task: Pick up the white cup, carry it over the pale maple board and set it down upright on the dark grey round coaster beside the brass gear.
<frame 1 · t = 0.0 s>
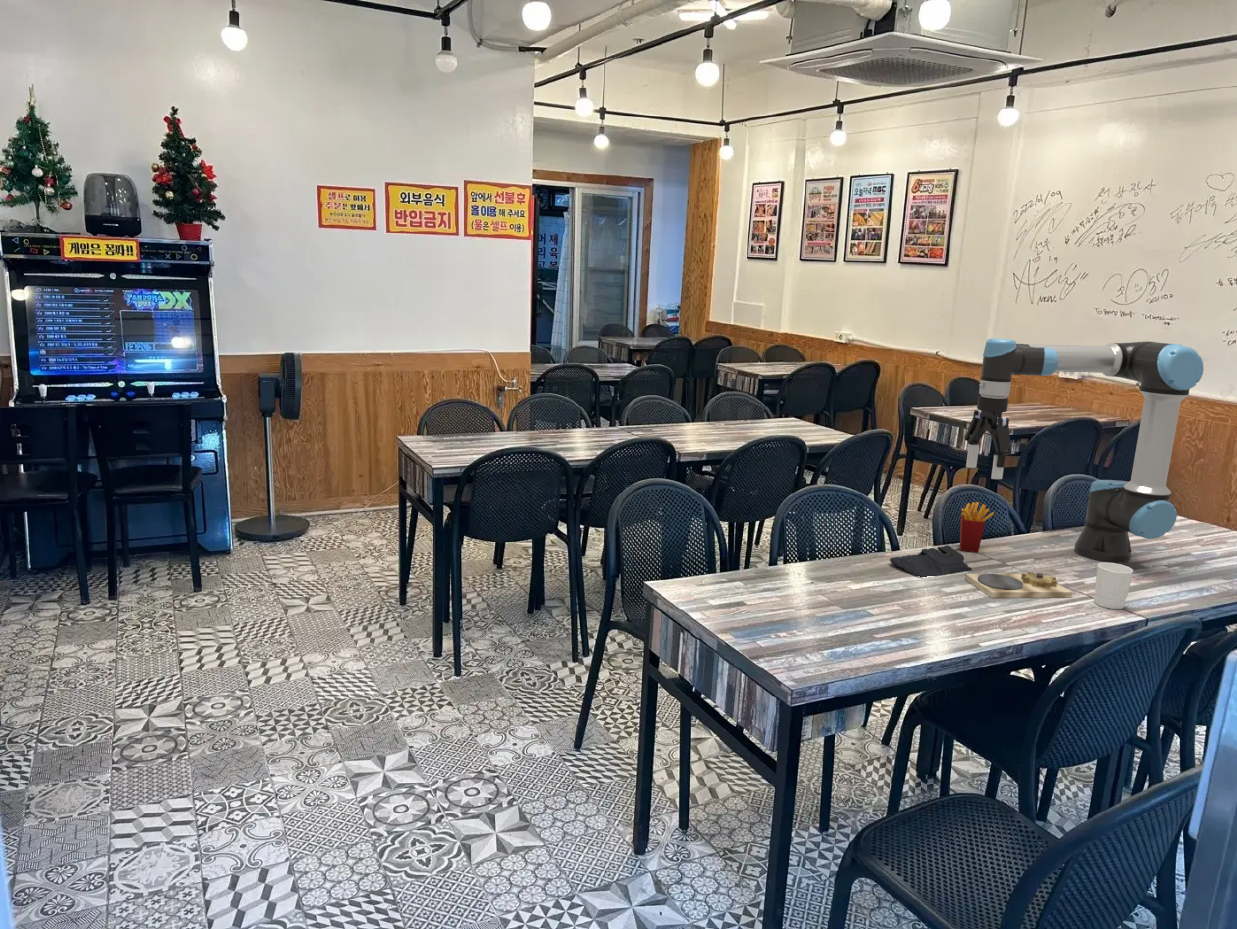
hand: (983, 473, 240), 28 cm above the table, tool pointing down, fingers open, 13 cm apart
dark slate chunk: (928, 568, 248), on the table
french fries: (972, 550, 265), on the table
gear board: (1016, 588, 232), on the table
white cup: (1108, 605, 223), on the table
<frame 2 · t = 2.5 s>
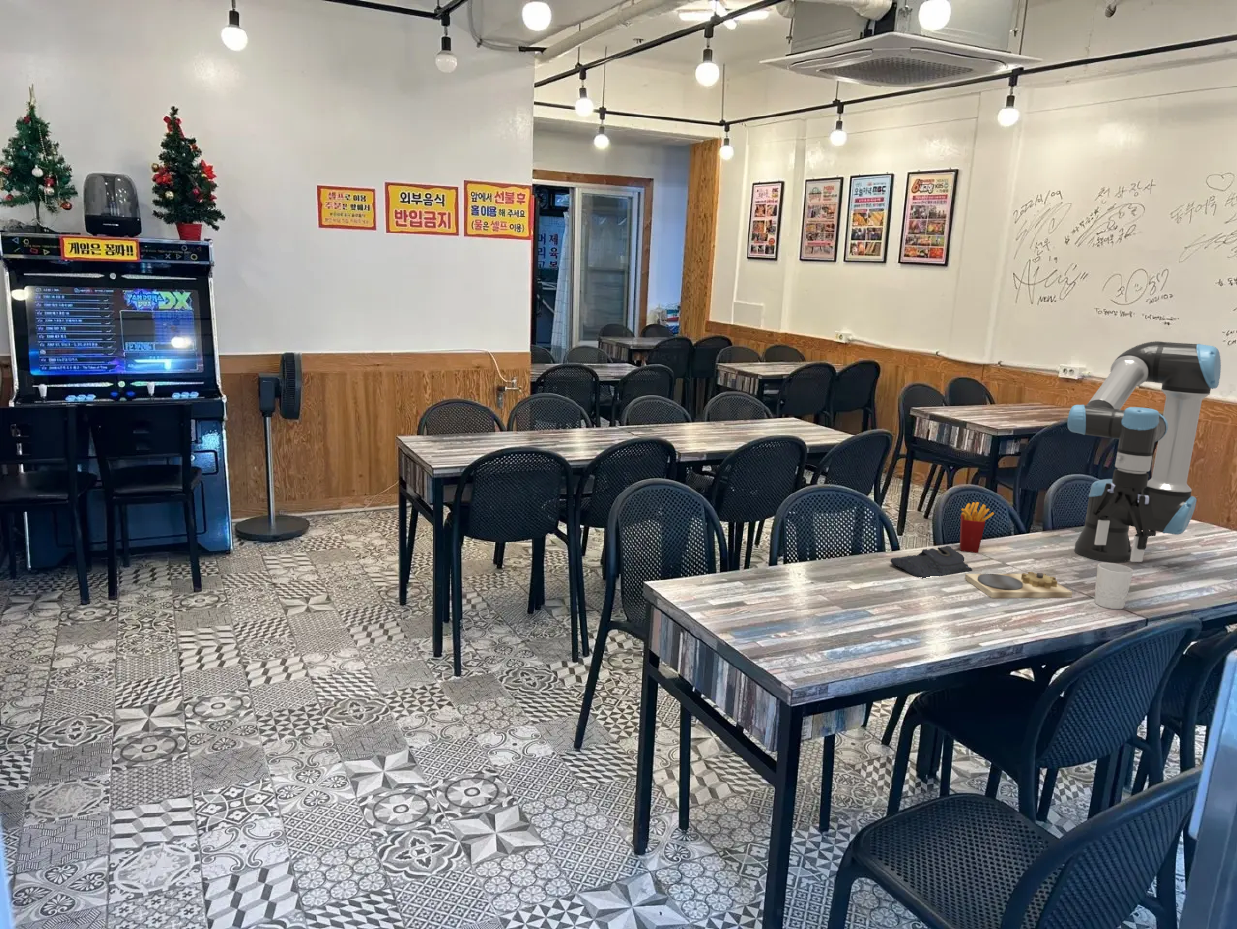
hand: (1117, 552, 219), 14 cm above the table, tool pointing down, fingers open, 13 cm apart
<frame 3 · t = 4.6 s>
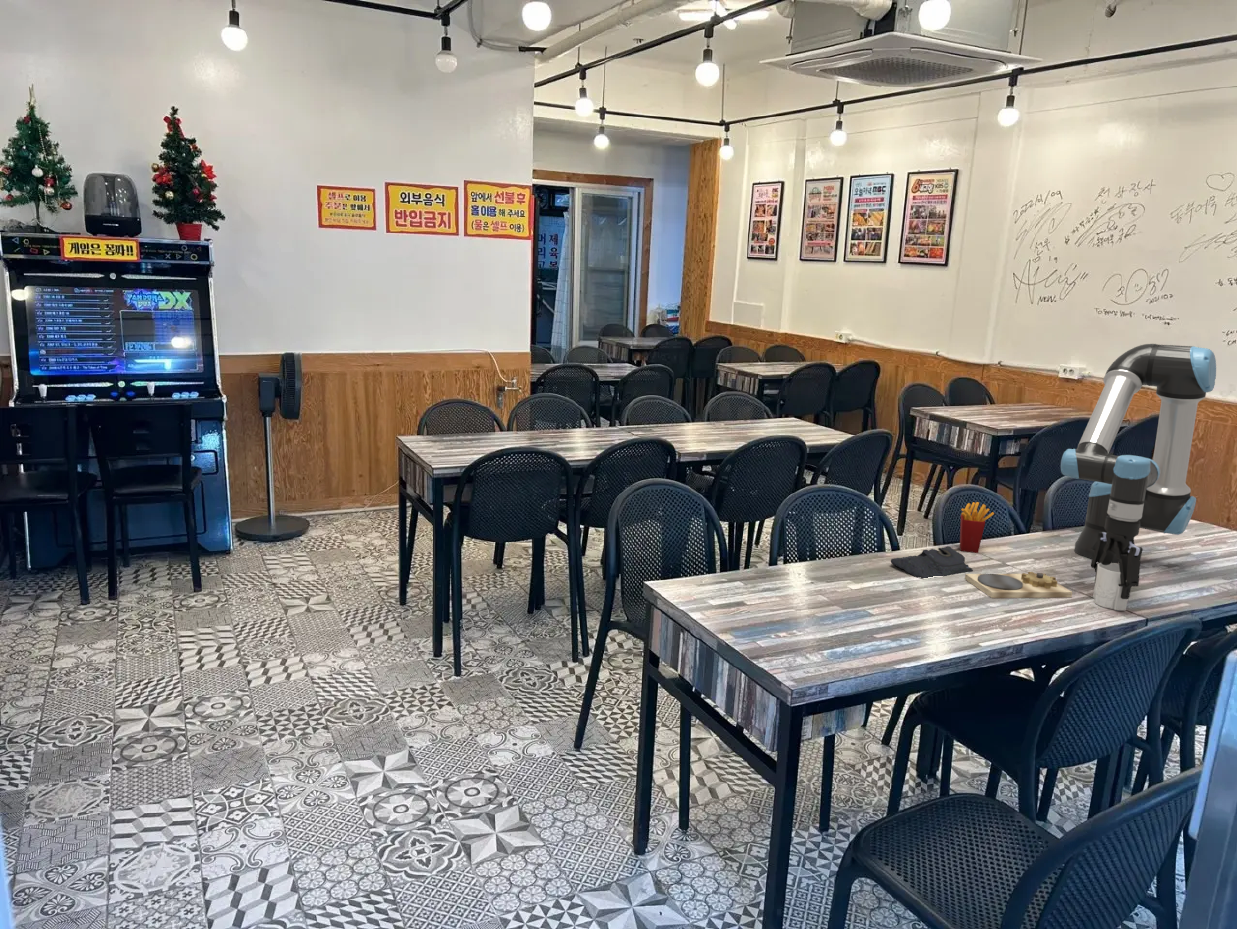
hand: (1109, 603, 222), 0 cm above the table, tool pointing down, fingers closed on white cup, 8 cm apart
white cup: (1108, 605, 223), on the table, touching gripper
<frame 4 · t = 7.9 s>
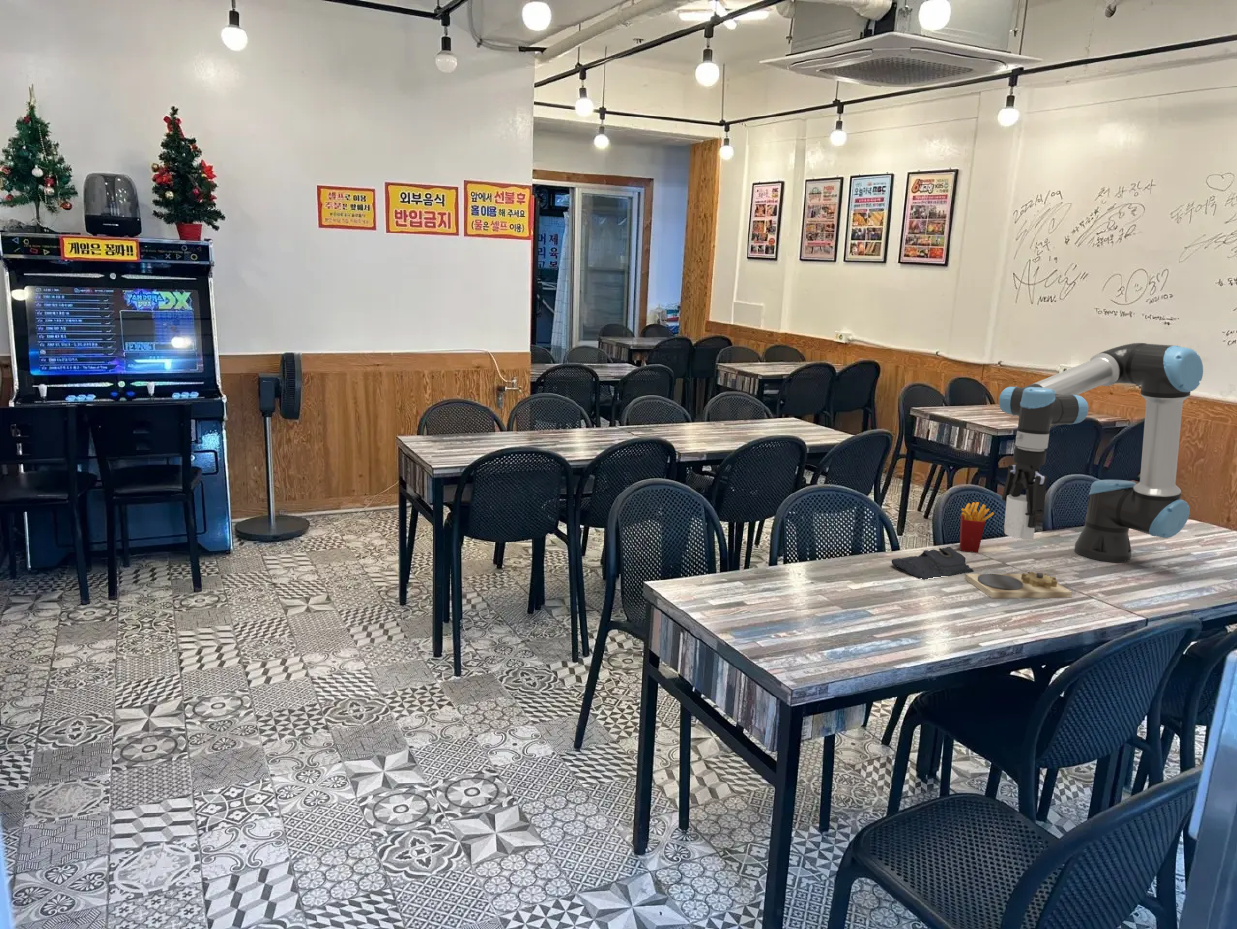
hand: (1018, 534, 227), 15 cm above the table, tool pointing down, fingers closed on white cup, 8 cm apart
white cup: (1018, 536, 227), point 15 cm above the table, touching gripper
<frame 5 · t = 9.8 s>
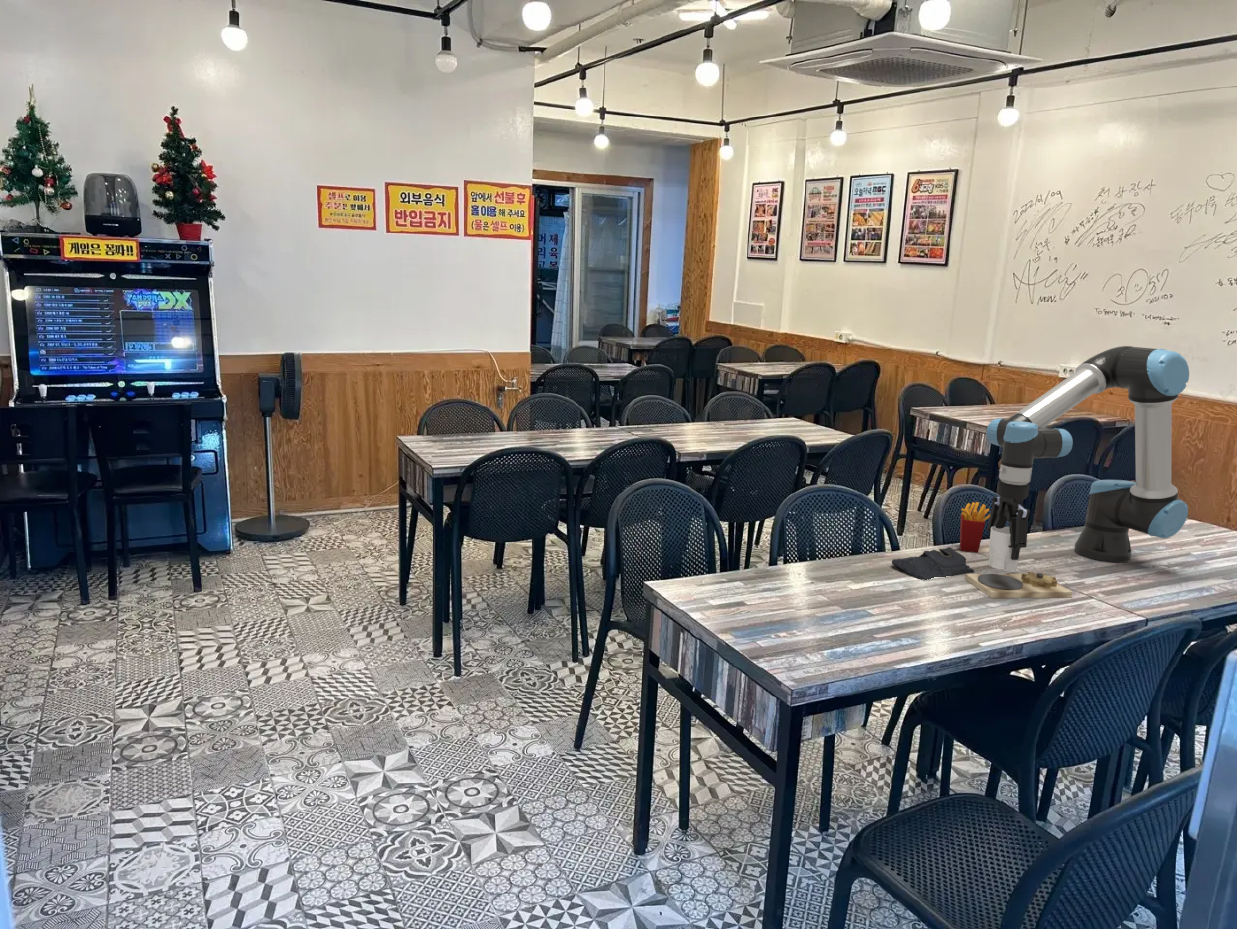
hand: (1002, 565, 230), 6 cm above the table, tool pointing down, fingers closed on white cup, 8 cm apart
white cup: (1001, 567, 230), point 6 cm above the table, touching gripper
when the fingers open (4 cm above the table, at t = 11.2 s): white cup drops 1 cm, resting on gear board.
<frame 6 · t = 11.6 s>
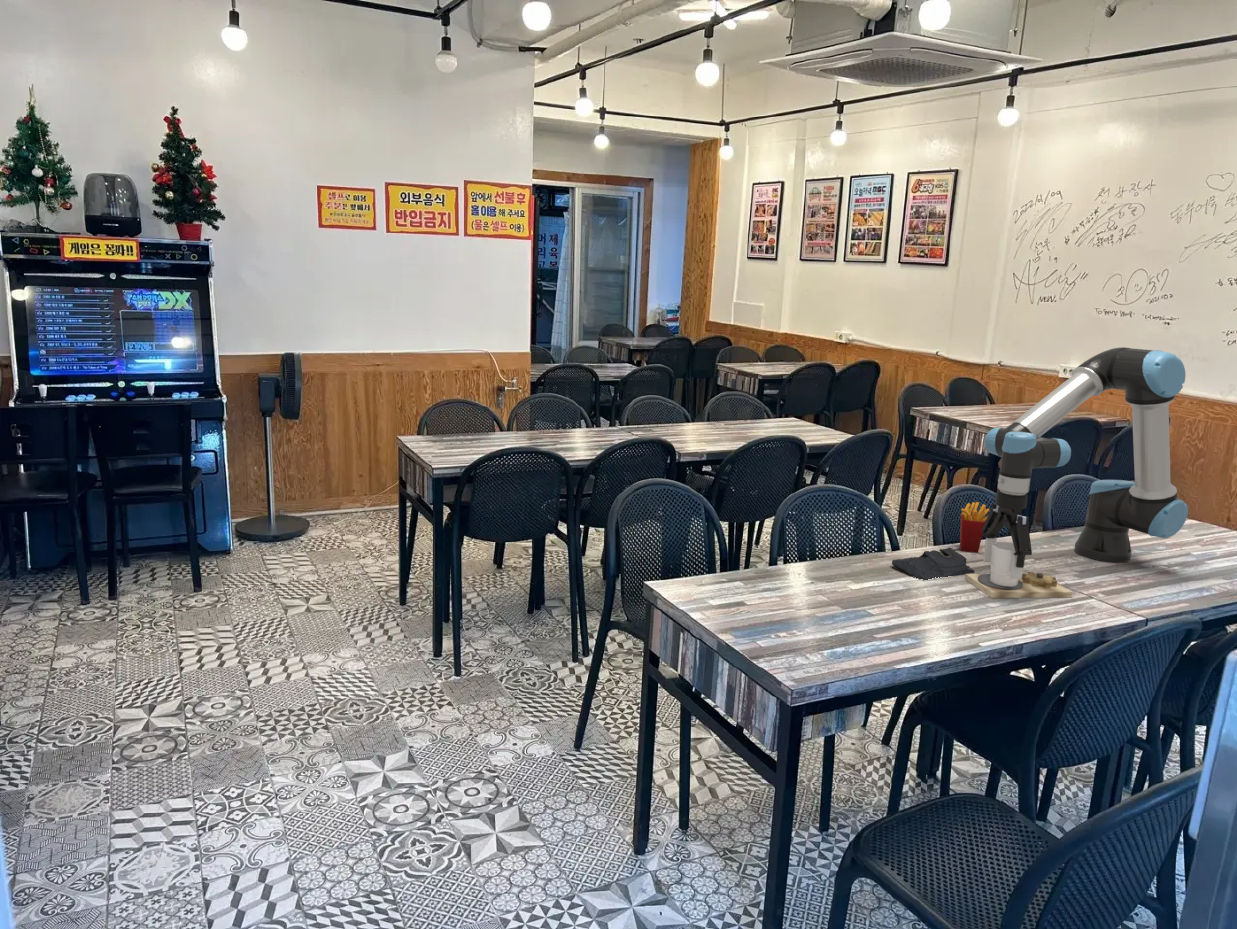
hand: (1001, 569, 230), 5 cm above the table, tool pointing down, fingers open, 13 cm apart
white cup: (1003, 583, 230), point 2 cm above the table, touching gear board
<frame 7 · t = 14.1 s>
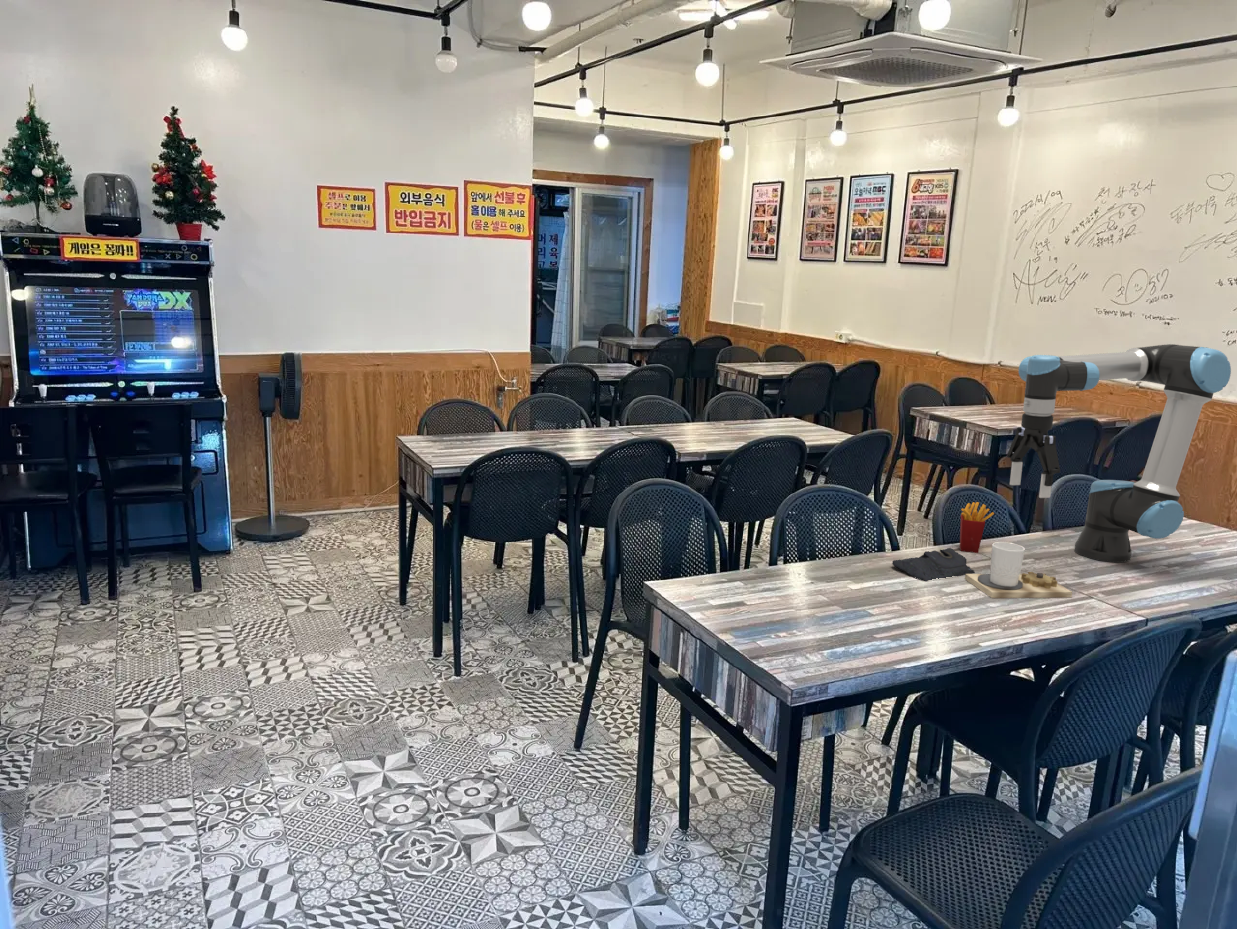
hand: (1029, 491, 237), 24 cm above the table, tool pointing down, fingers open, 13 cm apart
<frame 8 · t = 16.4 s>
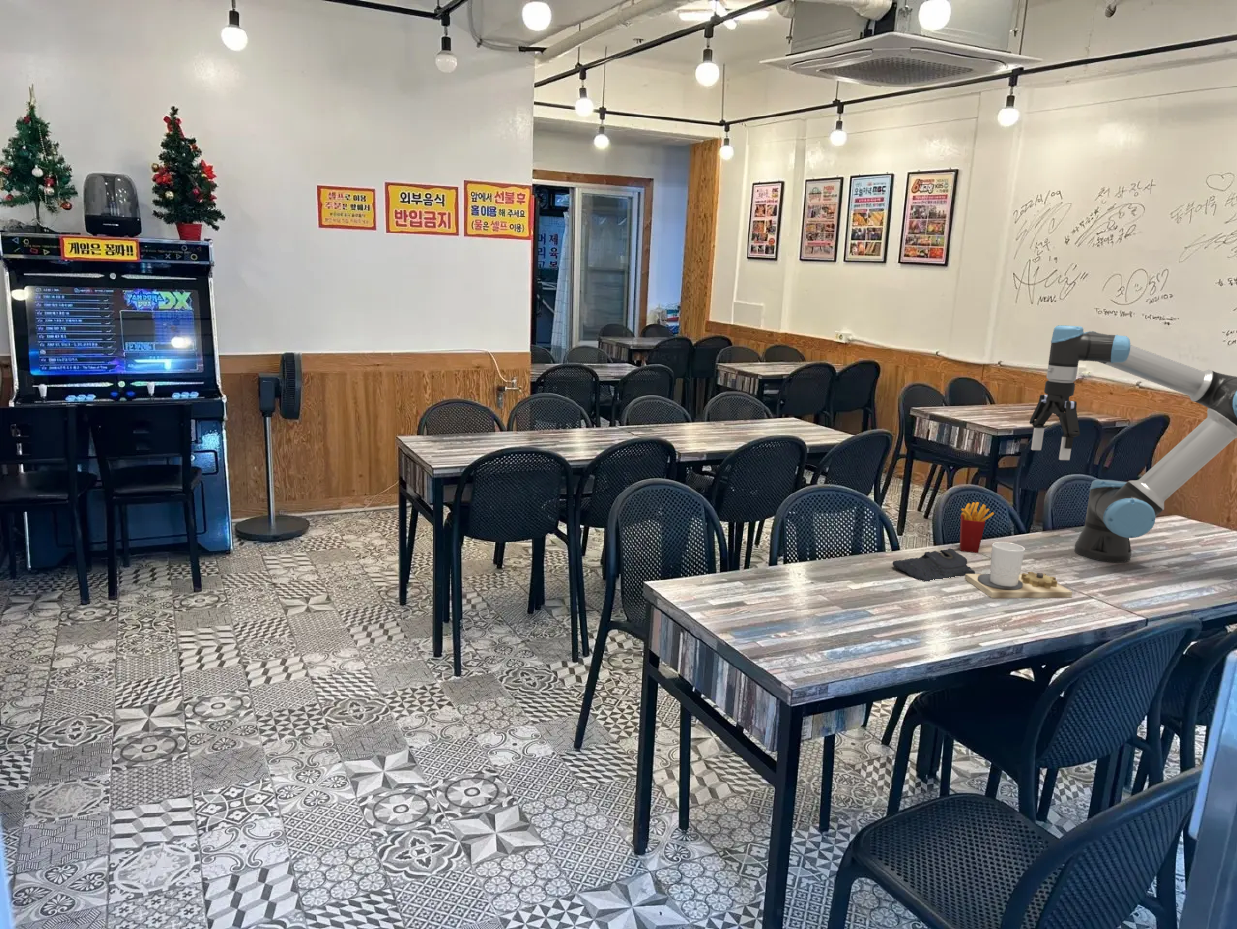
hand: (1049, 454, 250), 32 cm above the table, tool pointing down, fingers open, 13 cm apart
at the end: white cup inside the target area on the gear board (1.5 cm from its centre), point 1.9 cm above the gear board's base; white cup tilted 0°; the gripper is holding nothing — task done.
